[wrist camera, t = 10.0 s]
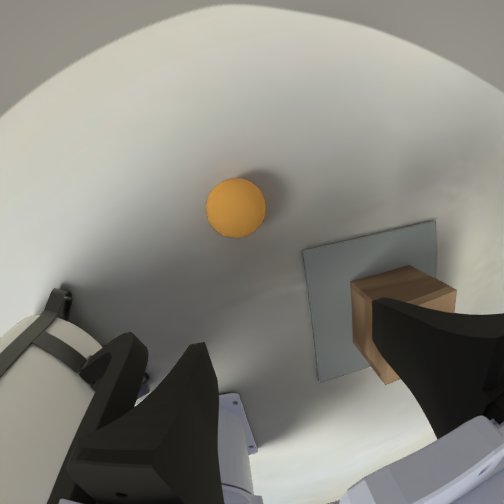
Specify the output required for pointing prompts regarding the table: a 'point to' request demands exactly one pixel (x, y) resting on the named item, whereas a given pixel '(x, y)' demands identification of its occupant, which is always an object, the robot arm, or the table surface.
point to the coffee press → (59, 399)
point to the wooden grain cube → (399, 288)
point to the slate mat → (339, 291)
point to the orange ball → (236, 208)
